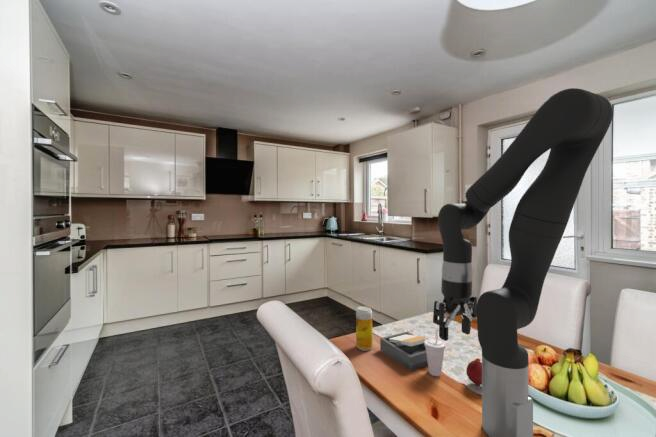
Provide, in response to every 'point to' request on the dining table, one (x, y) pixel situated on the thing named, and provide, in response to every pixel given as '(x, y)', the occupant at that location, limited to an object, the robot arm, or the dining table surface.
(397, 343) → the plate
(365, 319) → the glass of beer
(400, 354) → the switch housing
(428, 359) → the smoothie
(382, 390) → the dining table surface
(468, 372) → the onion
